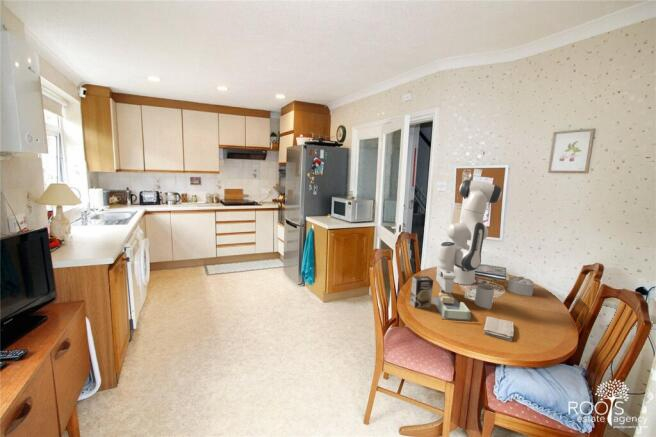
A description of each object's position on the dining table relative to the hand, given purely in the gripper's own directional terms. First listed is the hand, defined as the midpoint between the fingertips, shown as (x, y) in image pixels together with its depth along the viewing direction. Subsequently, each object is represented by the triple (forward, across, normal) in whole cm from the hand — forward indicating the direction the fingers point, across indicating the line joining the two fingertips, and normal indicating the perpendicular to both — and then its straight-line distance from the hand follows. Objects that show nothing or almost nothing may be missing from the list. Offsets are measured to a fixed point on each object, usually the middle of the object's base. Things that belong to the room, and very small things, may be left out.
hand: (442, 293), depth 177 cm
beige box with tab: (+2, +7, 0) cm, 7 cm away
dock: (+3, +14, 0) cm, 14 cm away
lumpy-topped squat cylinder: (+3, -20, +52) cm, 56 cm away
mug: (+3, +5, +21) cm, 22 cm away
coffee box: (+3, +13, -15) cm, 20 cm away
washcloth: (+4, +31, +17) cm, 36 cm away
